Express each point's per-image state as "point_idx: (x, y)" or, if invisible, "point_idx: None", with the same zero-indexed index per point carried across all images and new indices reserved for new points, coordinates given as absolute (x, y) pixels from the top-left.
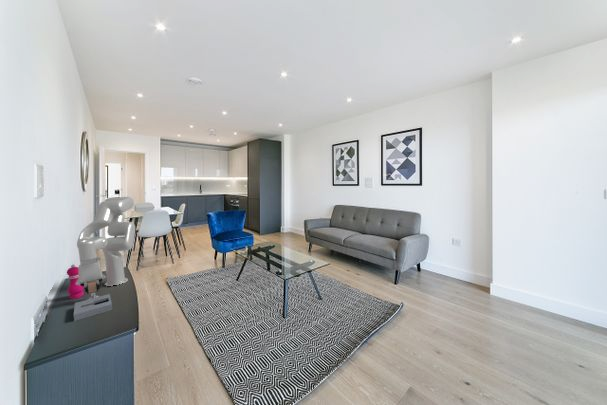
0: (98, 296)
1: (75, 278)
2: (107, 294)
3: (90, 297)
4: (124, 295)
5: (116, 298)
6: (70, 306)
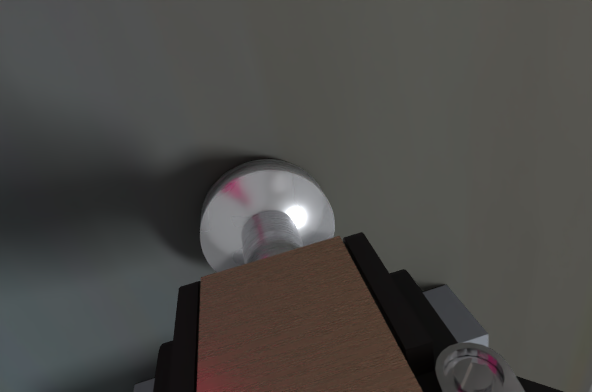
0: (333, 233)
1: None
2: (465, 340)
3: (222, 217)
4: (575, 245)
5: (500, 291)
6: (16, 307)
